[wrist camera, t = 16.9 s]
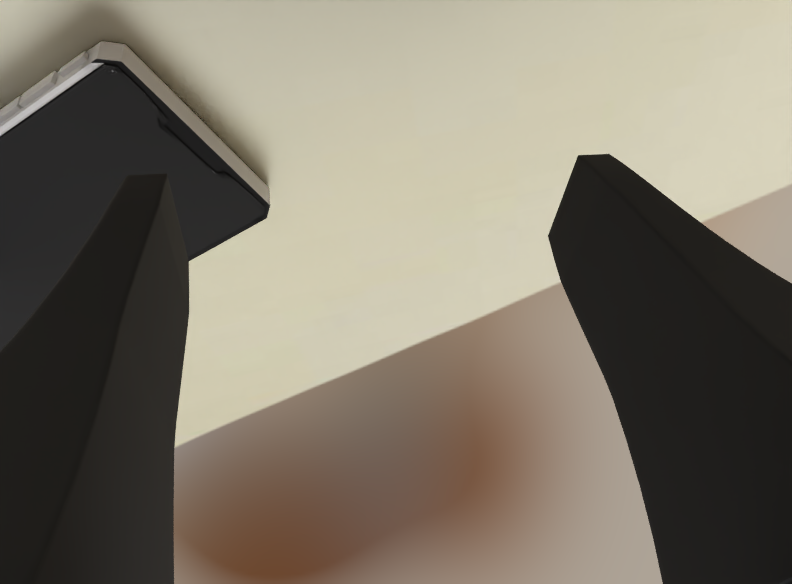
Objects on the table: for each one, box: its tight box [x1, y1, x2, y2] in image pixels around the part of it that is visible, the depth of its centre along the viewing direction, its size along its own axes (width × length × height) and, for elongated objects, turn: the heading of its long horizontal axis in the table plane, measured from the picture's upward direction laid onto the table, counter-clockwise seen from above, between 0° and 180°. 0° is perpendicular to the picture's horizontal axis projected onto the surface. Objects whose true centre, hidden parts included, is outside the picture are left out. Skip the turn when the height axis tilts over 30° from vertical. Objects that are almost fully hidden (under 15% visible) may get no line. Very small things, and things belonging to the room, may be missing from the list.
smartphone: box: [0, 41, 270, 351], centre depth 23 cm, size 8×1×15 cm
